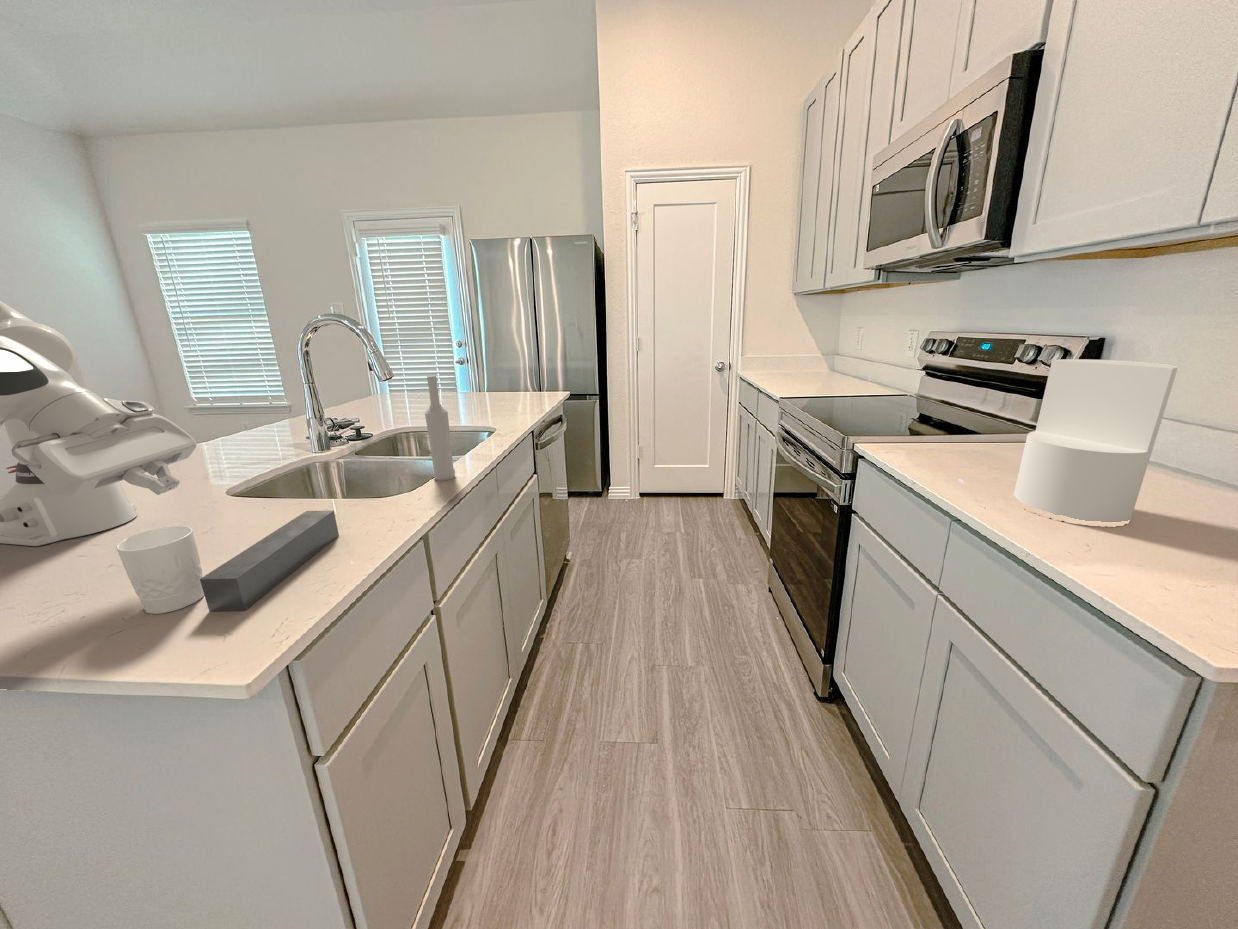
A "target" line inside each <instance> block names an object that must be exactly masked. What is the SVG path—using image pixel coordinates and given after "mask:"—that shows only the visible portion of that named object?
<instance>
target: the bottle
mask: <svg viewBox="0 0 1238 929" xmlns="http://www.w3.org/2000/svg"><path fill="white" fill-rule="evenodd" d="M426 379H427V385H428V393H429V400H430V404H429V408H428V409H427V410H426V411H425V412H424V415H425V422H426V428H427V435H428V440H429V441H428V442H429V448H430V454H431V459H432V460H431V461H432V465H433V466H432V468H433V471H432V474H433V478H434V480H435V481H443V482H444V481H449V480H452V479H454V478H455V476H456V470H455V468H454V463H453V462H454V460H453V453H452V452H453V451H452V444H451V443H452V442H451V434H450V432H451V430H450V423H449V422H450V421H449V412H448V410H447V409H446V408H445V407H443V406H442V404H441V403H440V398H439V397H440V396H439V391H438V390H439V389H438V380H437V375H427V376H426Z"/></svg>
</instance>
